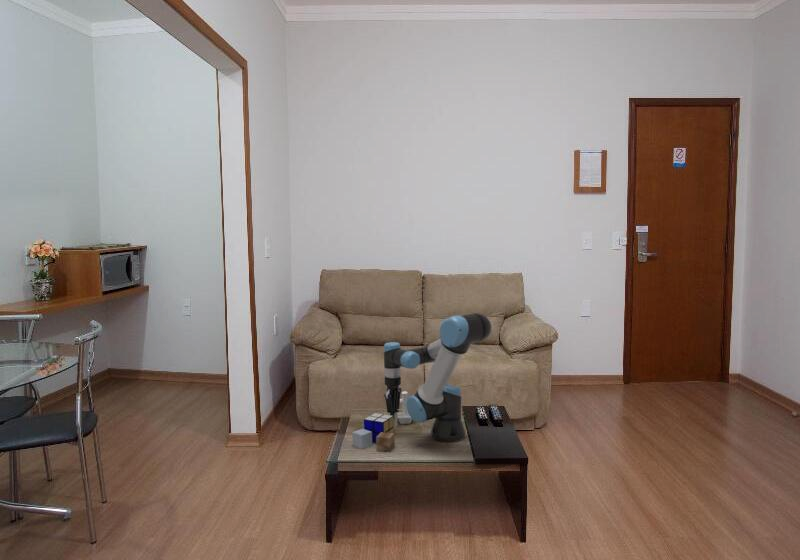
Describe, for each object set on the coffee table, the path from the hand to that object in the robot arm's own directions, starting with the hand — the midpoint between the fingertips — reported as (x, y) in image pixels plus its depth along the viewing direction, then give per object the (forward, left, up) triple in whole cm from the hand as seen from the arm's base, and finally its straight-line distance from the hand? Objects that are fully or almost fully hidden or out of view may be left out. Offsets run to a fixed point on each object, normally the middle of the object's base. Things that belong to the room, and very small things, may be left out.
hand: (393, 426), depth 267 cm
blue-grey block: (+3, +22, -2) cm, 23 cm away
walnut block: (-8, +21, -2) cm, 23 cm away
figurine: (0, -12, -2) cm, 12 cm away
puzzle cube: (0, +13, -2) cm, 13 cm away
